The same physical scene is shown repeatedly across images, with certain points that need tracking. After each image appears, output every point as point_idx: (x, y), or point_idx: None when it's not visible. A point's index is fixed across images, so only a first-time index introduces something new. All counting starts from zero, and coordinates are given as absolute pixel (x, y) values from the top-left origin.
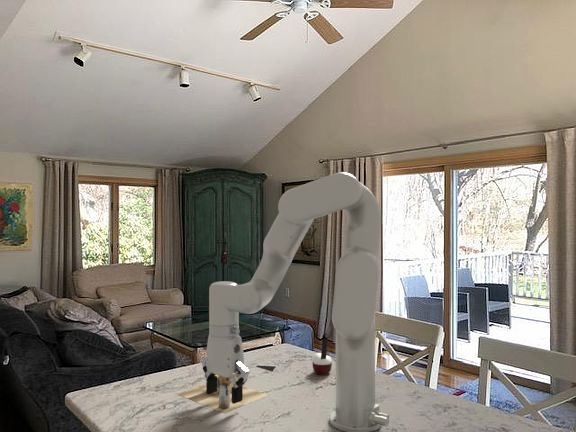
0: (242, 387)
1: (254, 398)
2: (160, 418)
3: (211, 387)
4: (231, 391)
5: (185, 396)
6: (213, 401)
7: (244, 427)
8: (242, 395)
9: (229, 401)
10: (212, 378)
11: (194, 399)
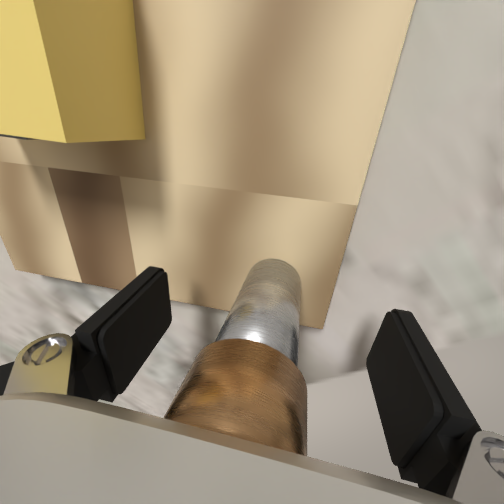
0: (456, 389)
1: (359, 65)
2: (154, 380)
3: (153, 329)
4: (137, 81)
5: (58, 271)
6: (183, 256)
7: (455, 345)
8: (421, 330)
9: (299, 292)
10: (110, 370)
11: (109, 278)
